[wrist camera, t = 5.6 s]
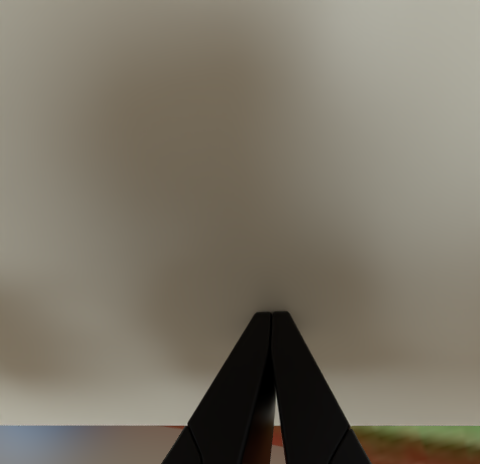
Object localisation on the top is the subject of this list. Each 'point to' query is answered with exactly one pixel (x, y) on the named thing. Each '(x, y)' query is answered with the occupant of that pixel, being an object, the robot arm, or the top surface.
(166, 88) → the tray lid
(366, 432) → the top surface
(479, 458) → the top surface
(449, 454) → the top surface
